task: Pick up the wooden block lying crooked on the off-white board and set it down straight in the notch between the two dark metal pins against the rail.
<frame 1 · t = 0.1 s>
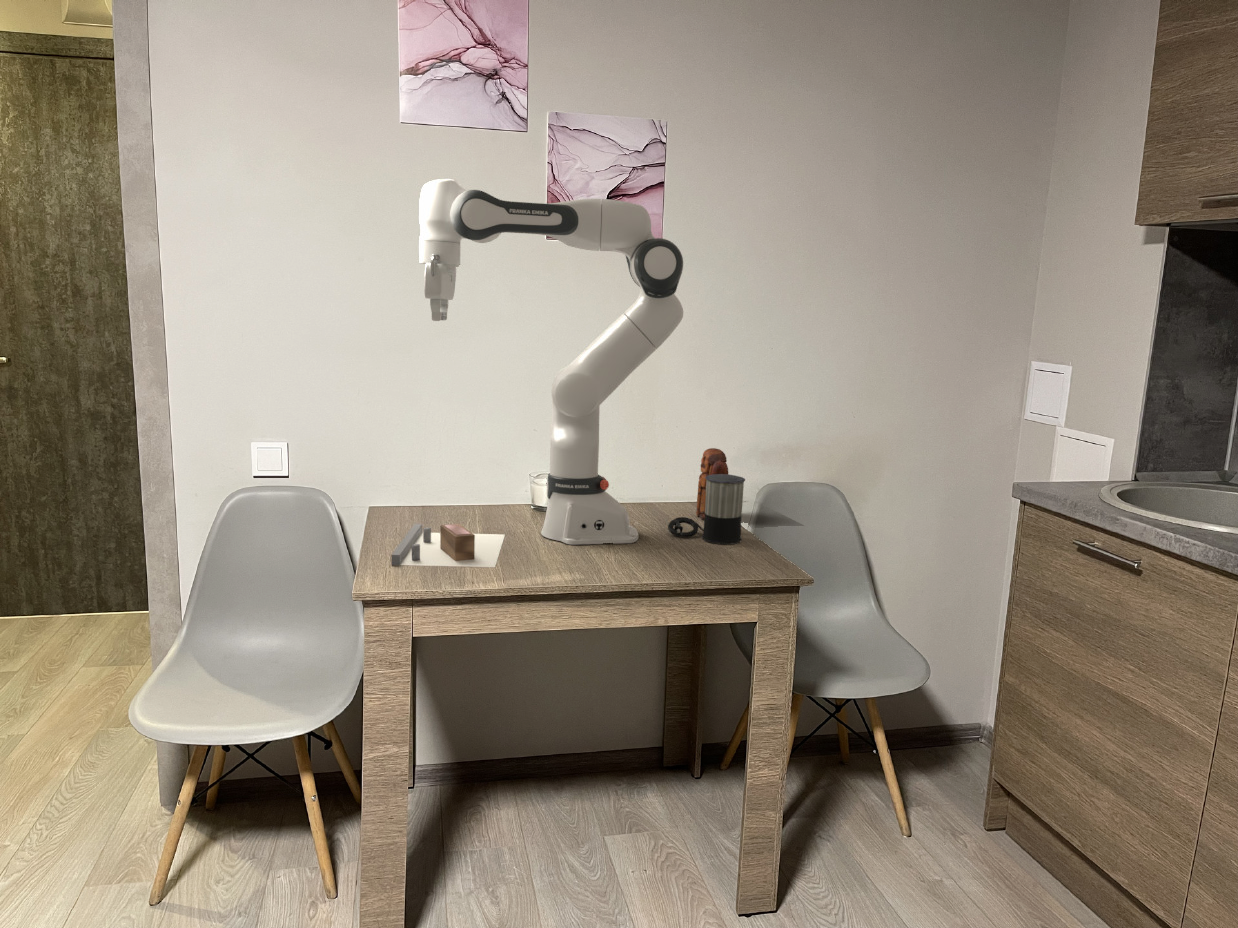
hand: (439, 320, 199), 48 cm above the table, tool pointing down, fingers open, 8 cm apart
board: (452, 554, 188), on the table
wooden block: (457, 553, 184), point 1 cm above the table, touching board
wooden figurine: (710, 518, 231), on the table
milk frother: (704, 538, 211), on the table
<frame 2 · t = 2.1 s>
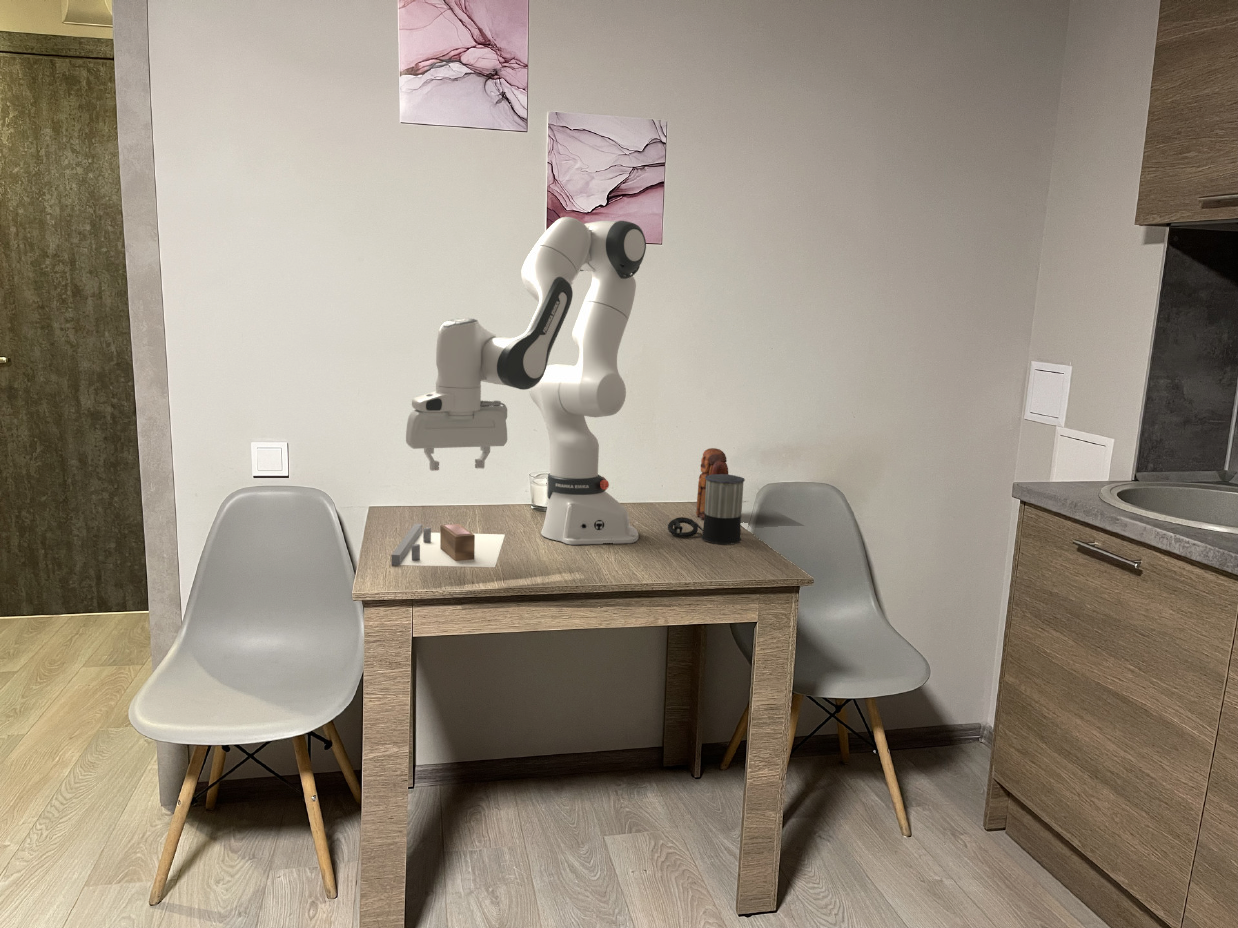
hand: (457, 469, 181), 19 cm above the table, tool pointing down, fingers open, 8 cm apart
nothing on the table moved.
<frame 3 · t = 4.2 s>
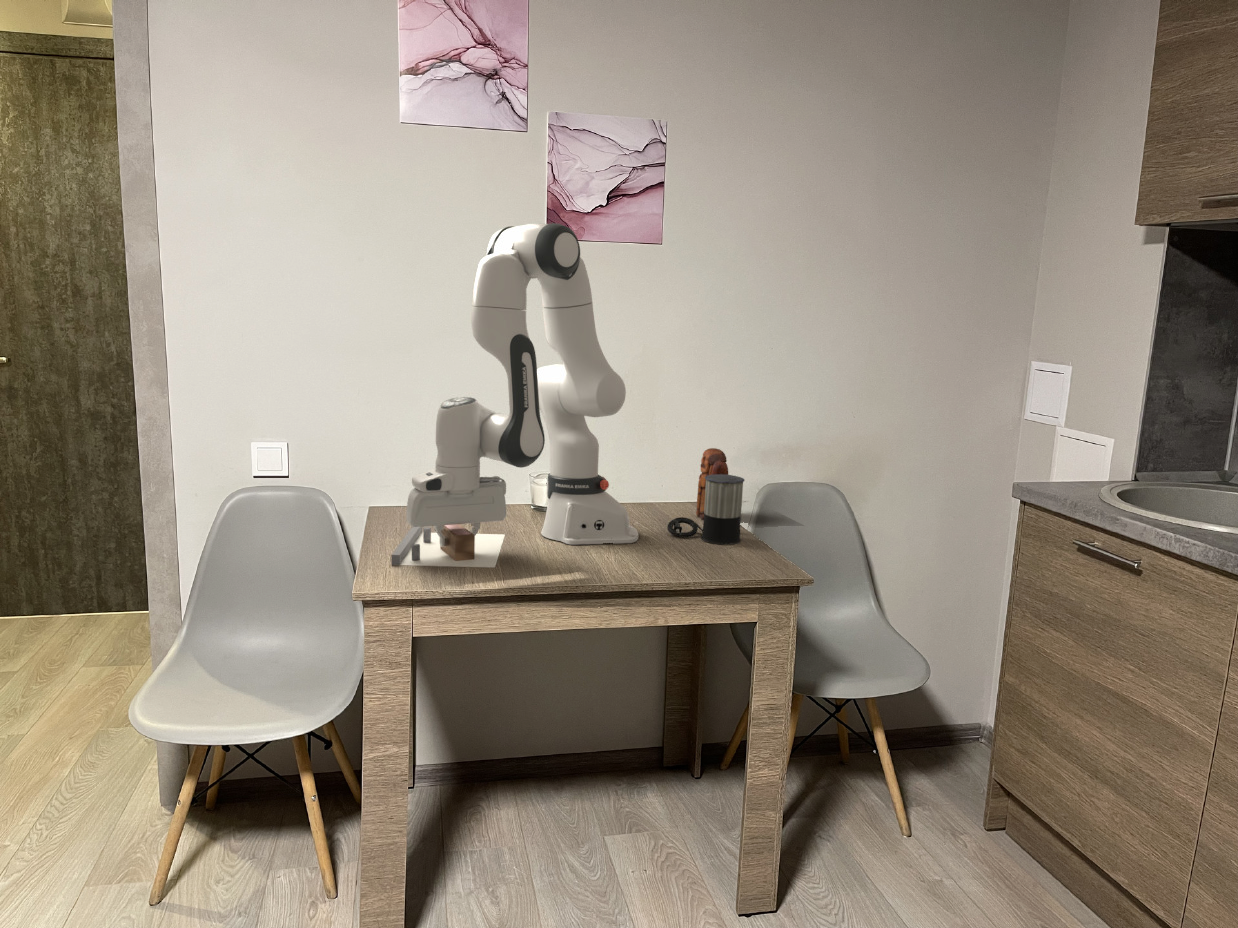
hand: (457, 544, 184), 3 cm above the table, tool pointing down, fingers closed on wooden block, 4 cm apart
wooden block: (457, 553, 184), point 1 cm above the table, touching board, gripper
everything else where it was.
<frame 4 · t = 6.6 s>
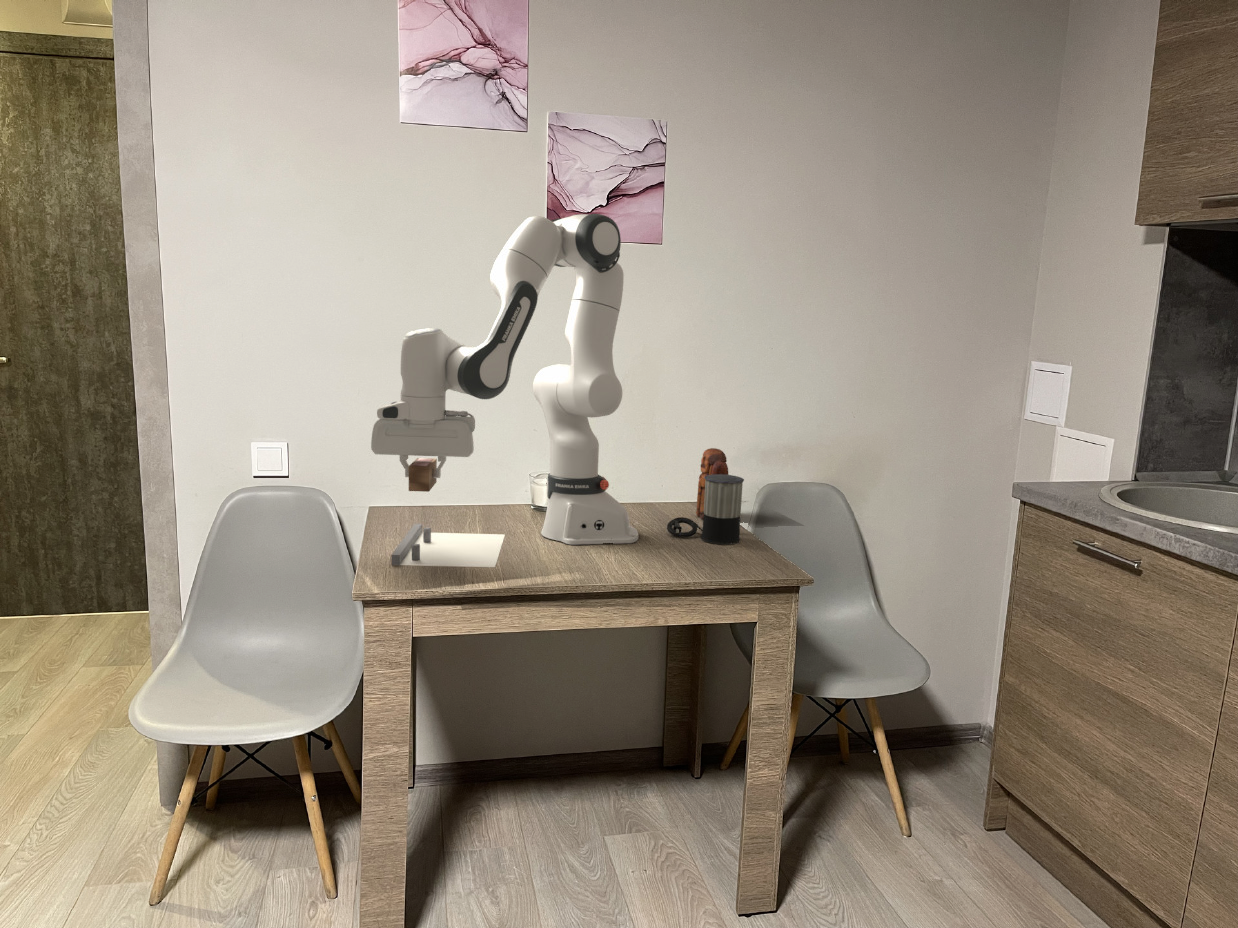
hand: (422, 477, 183), 17 cm above the table, tool pointing down, fingers closed on wooden block, 4 cm apart
wooden block: (422, 486, 184), point 15 cm above the table, touching gripper
everything else where it was.
when the fingers open (5 cm above the table, at t = 9.0 s): wooden block drops 2 cm, resting on board.
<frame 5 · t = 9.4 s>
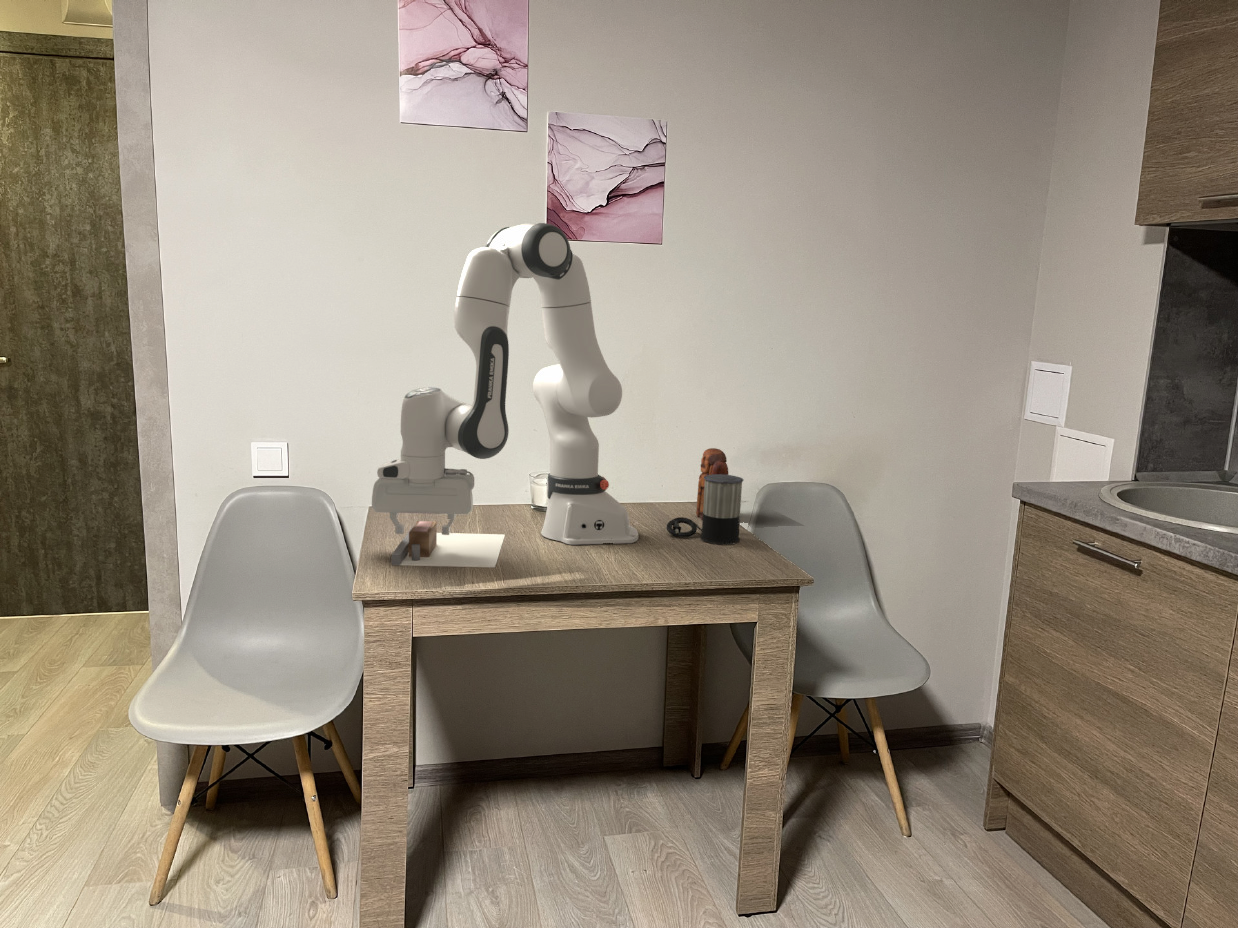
hand: (422, 533, 185), 5 cm above the table, tool pointing down, fingers open, 8 cm apart
wooden block: (423, 550, 186), point 1 cm above the table, touching board
everything else where it was.
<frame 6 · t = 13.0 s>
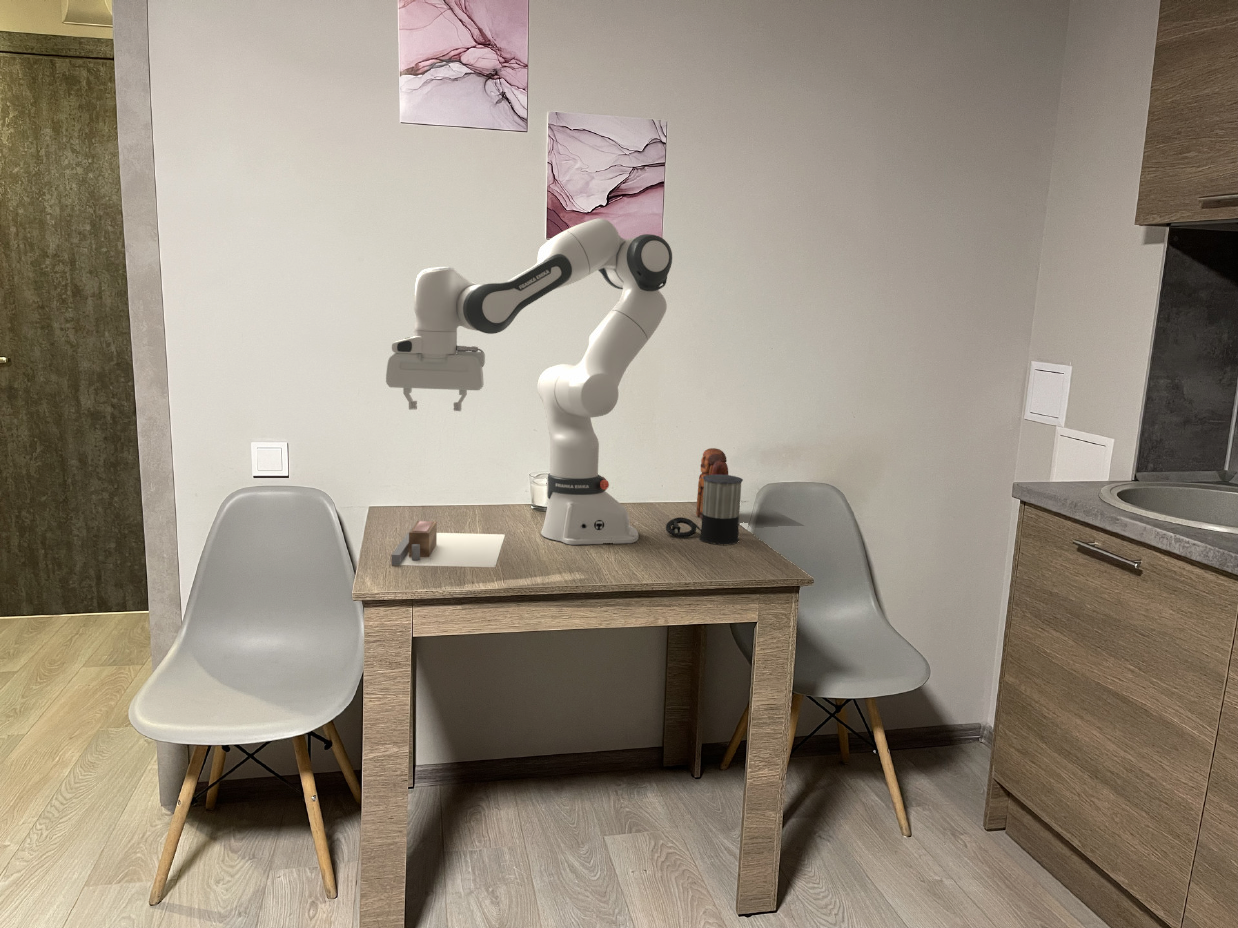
hand: (435, 410, 192), 29 cm above the table, tool pointing down, fingers open, 8 cm apart
nothing on the table moved.
at the end: wooden block 0.1 cm from the target spot, point 1.2 cm above the table; wooden block tilted 0°; the gripper is holding nothing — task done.
